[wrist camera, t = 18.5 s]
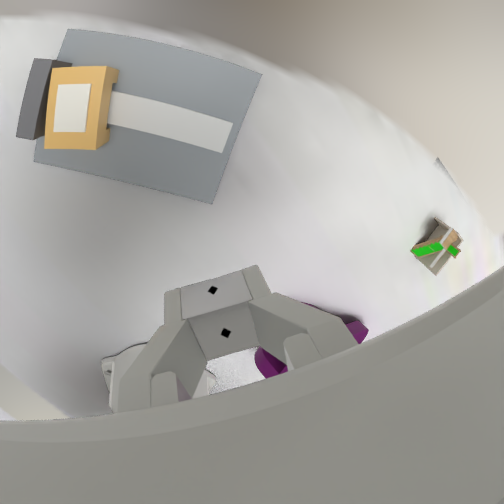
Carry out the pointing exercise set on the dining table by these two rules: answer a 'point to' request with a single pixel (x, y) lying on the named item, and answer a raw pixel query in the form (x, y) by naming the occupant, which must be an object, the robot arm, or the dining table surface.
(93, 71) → the module
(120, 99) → the backplate
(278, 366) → the mounting bracket
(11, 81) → the dining table surface
